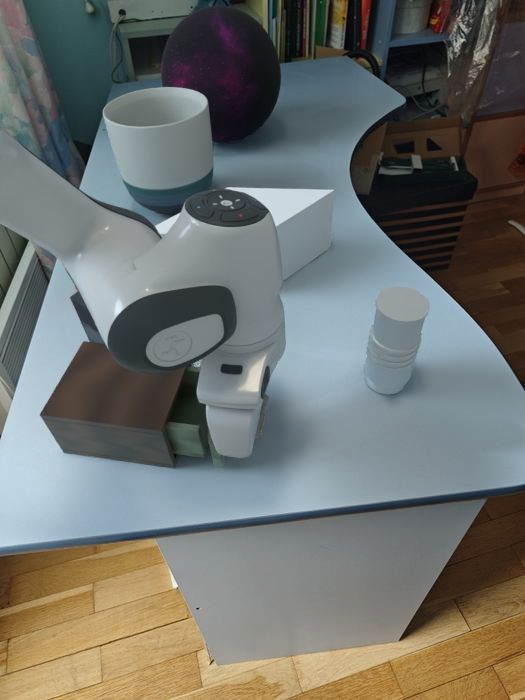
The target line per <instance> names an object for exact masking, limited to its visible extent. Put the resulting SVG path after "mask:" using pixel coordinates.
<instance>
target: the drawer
mask: <svg viewBox="0 0 525 700" xmlns="http://www.w3.org/2000/svg"><path fill="white" fill-rule="evenodd" d="M199 372H200V366H194V367H192V366H189V367H188V369H187V372H186V375H185V377H184V380H183V383H182V385H181V388H180V391H179V393H178V396H177V399H176V402H175V404H174V407H173V410H172V412H171V415H170V418H169V420H168V423H167V426H166V428H165V430H166V433H167V436H168V439H169V442H170V445H171V448H172V451H173V454H179V456H188V457H195V458H203V459H205V457H206V454H207V451H208V447H209V450H210V455H211V459H212V464H213V467H216V468H223V467H224V464H225V460H226V457H227V456H224V455H221V454H219V453H218V452H217V450H216V449H215V446H214V443H213V440H212V437H211V434H210V431H209V427H208V423H207V418H206V404H203V403H200V402H199V401H198V397H197V385H198V377H199ZM269 400H270V396H269V395H268V394H266V393H265V396H264V399H263V404H262V408H261V413H260V418H259V420H258V425H257V429H256V434H255V438H256V439H257V438H258V439H259V438H261V437H262V433H263V429H264V424H265V421H266V420H265V419H266V415H267V410H268V405H269Z"/></svg>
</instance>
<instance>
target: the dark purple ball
mask: <svg viewBox="0 0 525 700" xmlns="http://www.w3.org/2000/svg"><path fill="white" fill-rule="evenodd" d="M279 57H280V56H279V54H278V51H277V48H276V45H275V44H274V41H273V40H272V38H271V35H269V32H267V30H266V29H265V28H264V27H263V26H262V24H261V23H260V22H259V21H258V20H257V19H255V18H254V17H253V16H252V15H251V14H249V13H248V12H245V11H243V10H241V9H239V8H236V7H233V6H228V5H227V6H226V5H219V4H217V5H209V6H205V7H201V8H199V9H197V10H194V11H192V12H191V13H189V14H188V15H186V16H185V17H184V18H183V19H182V20H180V22H178V23H177V25H176V26H175V27H174V29H173V30H172V32H171V33H170V34H169V36H168V39H167V41H166V43H165V46H164V49H163V53H162V57H161V62H160V63H161V64H160V78H161V84H162V87H177V88H186V89H191V90H194V91H197V92H199V93H201V94H203V95H204V96H205V97H206V98H207V100H208V106H209V115H210V125H211V135H212V143H219V144H220V143H221V144H224V143H225V144H227V143H228V144H229V143H235V142H238V141H241V140H244V139H246V138H248V137H250V136H252V135H253V134H254V133H257V131H259V130H260V129H261V128H262V127H263V126H264V124H266V123H267V121H268V119H269V118H270V117H271V116H272V114H273V112H274V109H275V107H276V105H277V103H278V99H279V96H280V92H281V86H282V85H281V84H282V71H281V70H282V69H281V62H280V58H279Z"/></svg>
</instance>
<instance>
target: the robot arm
mask: <svg viewBox="0 0 525 700" xmlns="http://www.w3.org/2000/svg"><path fill="white" fill-rule="evenodd" d="M0 225H2V226H3V227H4V228H5V227H6V228H7V229H9V230H10V231H12V232H14V233H16V234H18V235H19V236H21V237H23V238H24V239H26V240H28V241H30V242H31V243H33V244H35V245H37V246H39V247H40V248H41V249H43V250H45V251H47V252H49V253H50V254H51V255H52V256H54V257H55V258H56V259H57V260H58V261H59V262H60V263H61V265H62V267H63V268H64V270H65V271H66V273H67V275H68V277H69V278H70V280H71V281H72V283H73V285H74V287H75V286H76V287H75V289H76V288H77V289H78V290H79V292H80V294H81V296H82V298H83V300H84V302H85V304H86V306H87V308H88V310H89V312H90V314H91V316H92V318H93V320H94V322H95V325H96V326H97V328H98V331H99V333H100V335H101V337H102V339H103V340H104V342H105V344H106V346H107V348H108V350H109V352H110V354H111V356H112V358H113V359H114V360H115V361H116V362H117V363H118V364H119V365H121V366H122V367H124V368H126V369H128V370H131V371H134V372H138V373H144V374H161V373H166V372H171V371H174V370H177V369H180V368H183V367H185V366H188V365H190V364H195V363H197V362H199V361H200V360H201V361H200V365H199V367H200V372H199V377H198V385H197V397H198V401H199V402H200V403H203V404H206V418H207V423H208V427H209V431H210V434H211V437H212V440H213V443H214V446H215V449H216V450H217V452H218V453H219V454H221V455H224V456H226V457H231V458H238V459H246V458H249V457H250V456H251V455H252V453H253V449H254V443H255V434H256V429H257V425H258V420H259V418H260V413H261V408H262V404H263V399H264V396H265V394H266V391H267V389H268V386H269V382H270V379H271V377H272V376H273V373H274V371H275V370H276V367H277V365H278V362H279V361H280V360H281V358H282V357H283V355H284V353H285V350H286V346H287V345H286V344H287V342H286V341H287V340H286V339H287V338H286V323H285V322H286V321H285V307H284V303H283V301H282V299H281V296H280V293H281V290H282V288H283V282H282V279H283V277H282V262H281V252H280V245H279V239H278V234H277V230H276V226H275V222H274V219H273V217H272V214H271V213H270V211H269V210H268V208H267V207H265V206H264V205H263V204H262V203H261V202H260V201H258V200H257V199H255V198H254V197H252V196H250V195H248V194H246V193H244V192H239V191H234V190H230V189H226V188H213V189H211V188H210V189H209V190H206V191H203V192H199V193H197V194H194V195H192V196H191V197H189V198H188V199H187V200H186V202H185V203H184V205H183V208H182V211H181V213H180V215H179V217H178V219H177V220H176V222H175V223H174V225H173V226H172V227H171V228H170V230H169V231H168V232H167V233H166V235H165V236H164V237H163V238H162V237H161V235H160V234H159V232H158V230H157V229H156V227H155V226H156V225H155V224H154V223H152V222H151V221H150V220H149V219H148V218H146V217H145V216H143V215H141V214H140V213H138V212H136V211H133V210H131V209H127V208H125V207H121V206H117V205H113V204H110V203H107V202H104V201H100V200H99V199H96V198H94V197H92V196H91V195H89V194H87V193H86V192H84V190H81V189H80V188H79V187H78V186H76V185H75V184H74V183H72V182H71V181H70V180H68V179H67V178H66V177H65V176H63V175H62V174H61V173H60V172H58V171H57V170H56V169H54V168H53V167H51V165H49V164H48V163H47V162H45V161H44V160H43V159H41V157H39V156H37V155H36V154H35V153H34V152H33V151H31V150H30V149H28V148H27V147H26V146H24V144H22V143H21V142H19V140H17V139H16V138H15V137H14V136H13V135H12V134H11V133H10V132H9V131H8V130H7V129H6V128H5V126H4V125H3V124H2V123H1V122H0Z"/></svg>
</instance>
